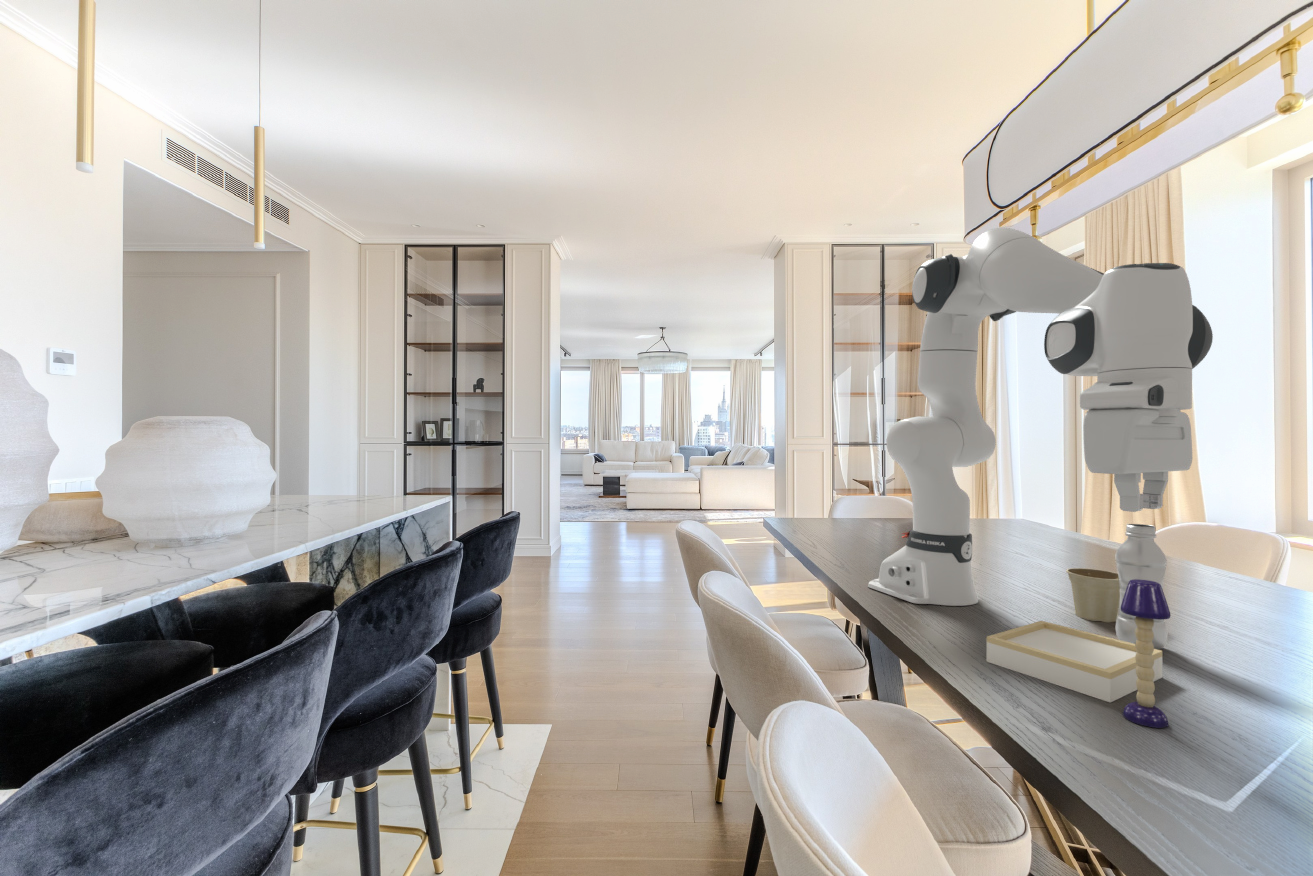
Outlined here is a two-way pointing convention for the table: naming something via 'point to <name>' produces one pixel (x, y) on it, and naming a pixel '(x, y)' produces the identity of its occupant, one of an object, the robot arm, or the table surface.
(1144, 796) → the table surface
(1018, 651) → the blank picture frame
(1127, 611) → the toy lamp
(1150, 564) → the plastic bottle
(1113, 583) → the flower pot
